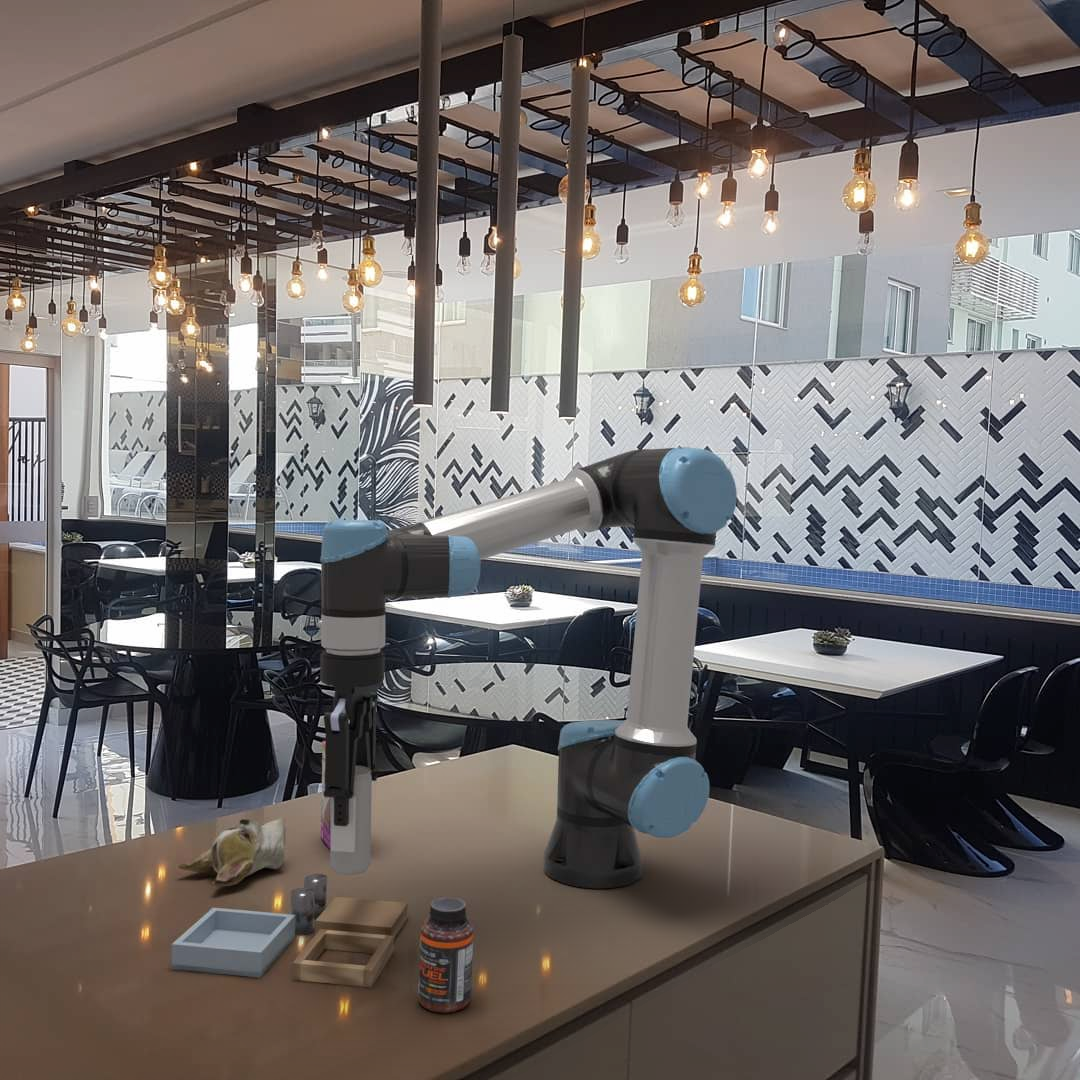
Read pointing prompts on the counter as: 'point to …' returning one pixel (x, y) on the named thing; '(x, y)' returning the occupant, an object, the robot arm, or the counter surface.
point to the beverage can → (357, 829)
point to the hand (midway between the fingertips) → (350, 842)
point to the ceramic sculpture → (242, 851)
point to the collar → (338, 972)
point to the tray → (233, 942)
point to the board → (363, 916)
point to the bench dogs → (309, 902)
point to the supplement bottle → (446, 957)
